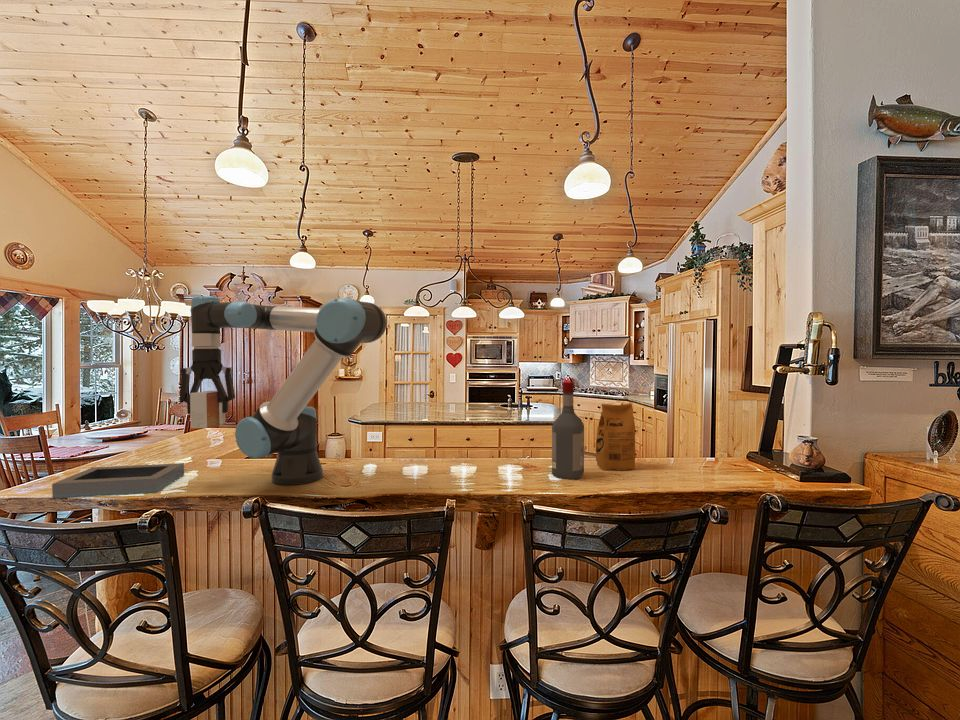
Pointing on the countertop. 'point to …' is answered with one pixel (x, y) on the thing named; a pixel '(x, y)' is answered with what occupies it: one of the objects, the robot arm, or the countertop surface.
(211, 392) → the small box
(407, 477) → the countertop surface
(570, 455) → the liquor
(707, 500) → the countertop surface
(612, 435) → the coffee package
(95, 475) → the tray
